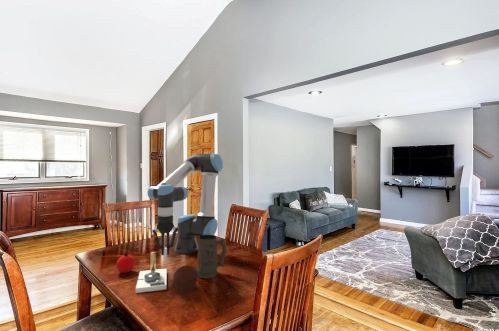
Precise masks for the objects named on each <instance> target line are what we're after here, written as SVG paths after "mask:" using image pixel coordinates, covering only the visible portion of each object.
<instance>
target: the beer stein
mask: <svg viewBox="0 0 499 331" xmlns="http://www.w3.org/2000/svg"><path fill="white" fill-rule="evenodd" d="M197 244H198V250H197V264H196V265H197V266H196V271H197V272H198V277H197V278H200V279H211V278H215V277H217V275H218V268H219V267H222V268H224V266H225V263H224V260H225V257H226V254H227V250H228V249H227V245H226V239H225V238H221V239H218V236H217V235H215V234H214V235H201V236H197ZM218 245H220V246H222V247H221V248H222V251H221V257H220V260H219V261H218Z"/></svg>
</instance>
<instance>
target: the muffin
mask: <svg viewBox="0 0 499 331" xmlns="http://www.w3.org/2000/svg"><path fill="white" fill-rule="evenodd" d="M172 276H173V282H174V287H175V291H176V292H177V293H178V294H183V295H184V294H191V293H192V292H194V291H195V289H197V283H198V282H197V281H198V278H199V277H198V272H197V268H194V267H193V266H191V265H183V266H179V268H178V269H176V271H175V272H174V273H173V275H172Z"/></svg>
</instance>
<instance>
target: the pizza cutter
mask: <svg viewBox="0 0 499 331" xmlns="http://www.w3.org/2000/svg"><path fill="white" fill-rule="evenodd" d="M149 260H150V261H149V262H150V265H149V266H150V269H149V270H150V271H151V273H148V274H146V275H145V276H144V280H145V281H147V282H152V281H156V280H158V279H160V273H158V272H155V271H156V269H157V252H156V251H152V252H150V259H149Z"/></svg>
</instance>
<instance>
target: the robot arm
mask: <svg viewBox="0 0 499 331" xmlns="http://www.w3.org/2000/svg"><path fill="white" fill-rule="evenodd" d="M223 162H224V161H223V159H222V156H220V154H219V153H196V154H193V155H191V156H189V157H188V158H186V159H185V160H183V161H182V163H181V165H180V166H179V167H178V168H177V169H175V170H174V171H173V172H171V174H169V175H168V176H167V177H166V178H165V179H163V180H162V181H161V182H160V183H159V184H157V185H152V186H150V187H148V189H147V196H148V198H149V199H150V200H155V201H156V200H157V215H158V216H157V225H156V227H154V228H153V229H152V231H151V232H152V234H153V235H154V238H155V243H156V246H157V249H160V251H161V253H160V255H161V256H163V260H162V261H163V263H166V262H167V261H168V255H170V248H172V247H174V253H176V254H181V255H182V254H185V255H186V254H193V253H195V252H198V240H197V238H196V237H199V236H201V235H214V236H215V234H216V232H217V230H218V220H217V219H216V217H215V216H216V215H215V214H214V203H215V192H216V180H217V176H219V173H220V172H221V171H222V169H223V168H224V165H223V164H224V163H223ZM195 172H200V174H201V175H202V182H201V190H200V192H201V193H200V200H199V201H200V204H199V212H198V213H197V214H194V213H193V214H191V213H190V214H185V215H180V216H178V218H177V226H175V224H174V215H173V214H174V203H175V202H181V201H184V200H186V199H187V198H188V196H189V191H188V189H187V188H186V187H184V186H179V184H180V183H182V182H183V181H184V180H185V179H186V178H187V177H188V176H189V175H191V174H194V173H195ZM158 231H159V233H160V234H161V235H160V236H161V239H160V241H159V236H158ZM171 232H172V235H171V239H170V233H171ZM165 234H166V238H165ZM176 235H177V236H176ZM176 237H177V238H176ZM175 238H176V239H177V240H176V242H175ZM165 239H166V241H165ZM165 242H166V243H165ZM174 243H175V245H174ZM165 244H166V246H165ZM167 263H168V262H167Z"/></svg>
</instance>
